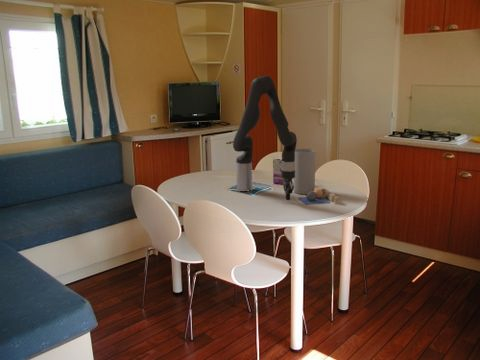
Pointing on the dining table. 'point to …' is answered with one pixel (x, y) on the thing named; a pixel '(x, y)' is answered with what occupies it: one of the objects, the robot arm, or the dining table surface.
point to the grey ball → (311, 196)
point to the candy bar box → (277, 171)
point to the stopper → (330, 196)
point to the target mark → (316, 201)
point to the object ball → (318, 193)
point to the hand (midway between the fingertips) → (287, 199)
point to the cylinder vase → (304, 171)
